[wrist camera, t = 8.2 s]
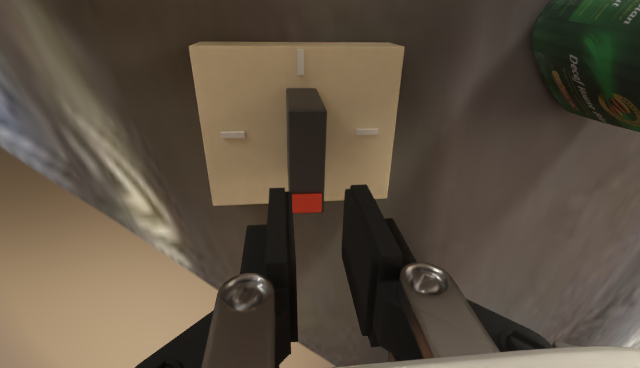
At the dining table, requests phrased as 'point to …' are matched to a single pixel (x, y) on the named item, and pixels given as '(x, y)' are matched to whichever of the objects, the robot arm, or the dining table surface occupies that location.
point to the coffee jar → (592, 58)
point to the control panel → (270, 113)
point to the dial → (306, 149)
